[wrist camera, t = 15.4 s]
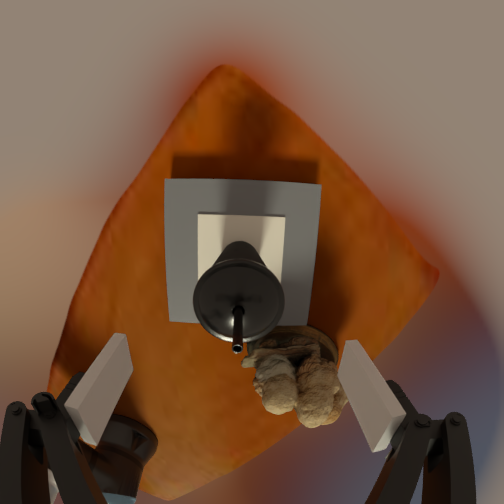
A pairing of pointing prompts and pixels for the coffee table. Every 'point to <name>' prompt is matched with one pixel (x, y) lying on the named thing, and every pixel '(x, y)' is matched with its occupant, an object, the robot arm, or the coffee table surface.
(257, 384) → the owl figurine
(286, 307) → the base
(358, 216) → the coffee table surface
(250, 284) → the drinking cup
